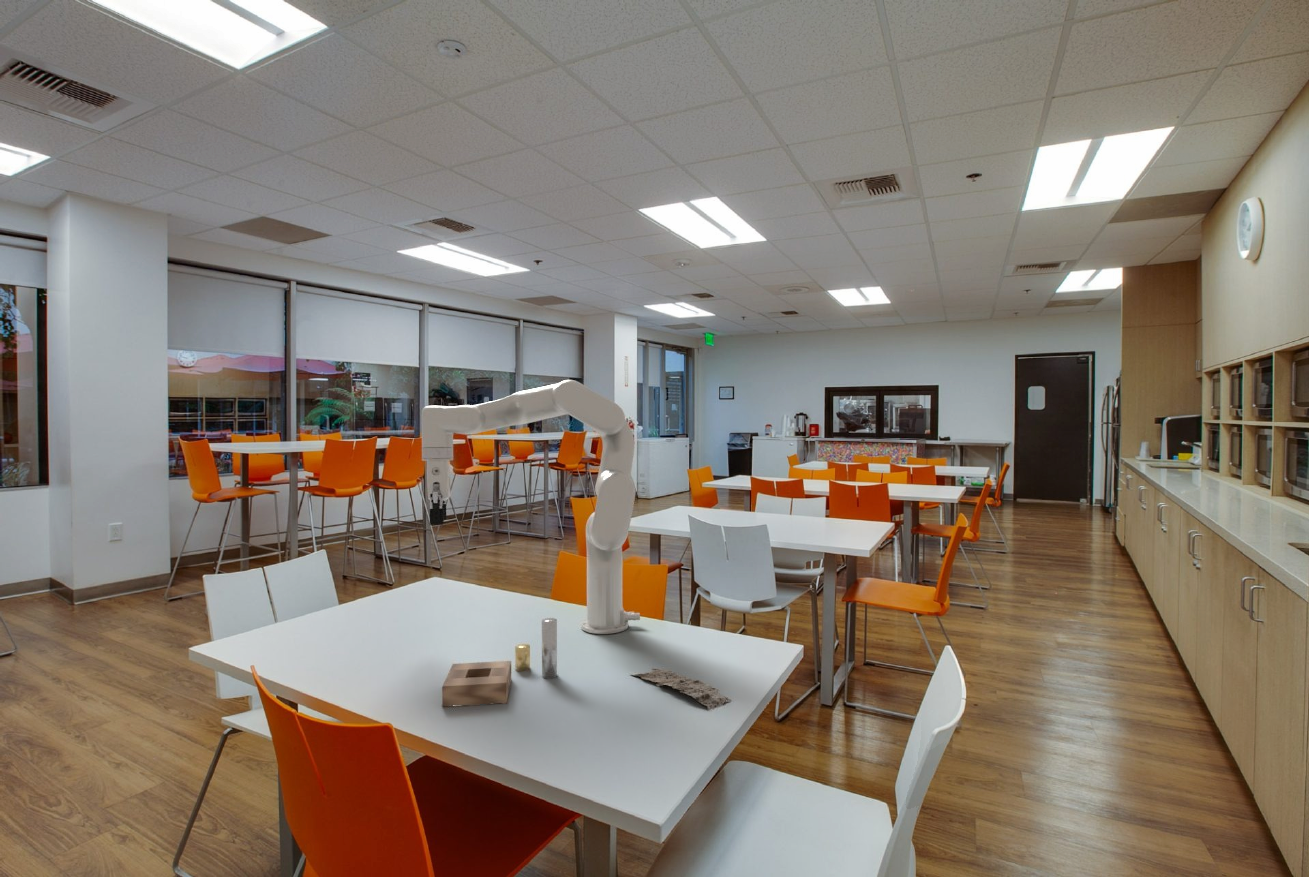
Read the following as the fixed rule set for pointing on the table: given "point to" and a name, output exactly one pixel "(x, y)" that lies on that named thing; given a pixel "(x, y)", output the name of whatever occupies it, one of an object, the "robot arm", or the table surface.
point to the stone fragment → (687, 687)
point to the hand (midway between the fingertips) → (438, 521)
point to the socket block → (477, 683)
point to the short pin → (522, 657)
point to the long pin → (549, 648)
